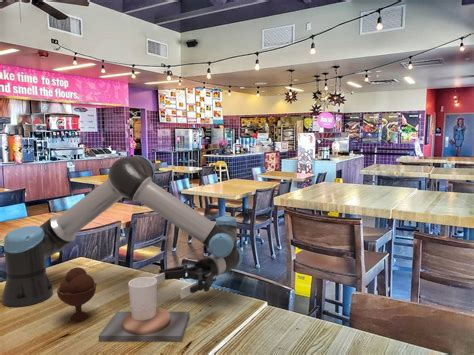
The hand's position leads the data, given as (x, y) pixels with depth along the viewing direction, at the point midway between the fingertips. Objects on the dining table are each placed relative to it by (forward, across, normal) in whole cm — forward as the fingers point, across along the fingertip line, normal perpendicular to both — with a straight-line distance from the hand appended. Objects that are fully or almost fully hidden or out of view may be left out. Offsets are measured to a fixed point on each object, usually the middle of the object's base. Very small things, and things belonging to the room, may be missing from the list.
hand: (164, 288), depth 109 cm
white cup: (+6, +2, -7) cm, 9 cm away
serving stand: (+6, +1, -10) cm, 11 cm away
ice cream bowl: (+14, +23, -10) cm, 28 cm away
